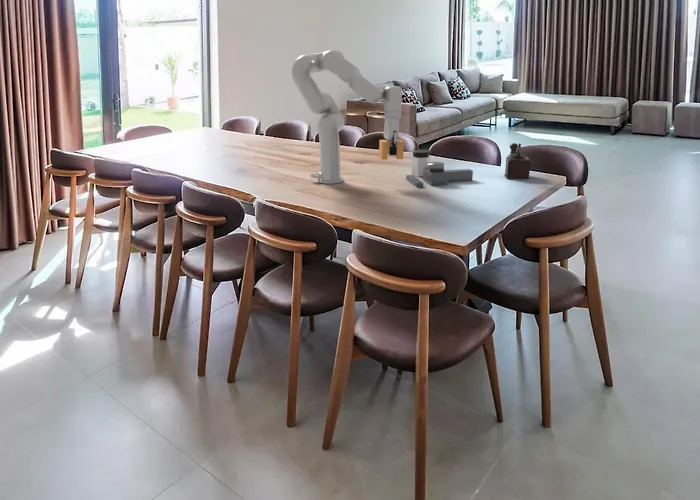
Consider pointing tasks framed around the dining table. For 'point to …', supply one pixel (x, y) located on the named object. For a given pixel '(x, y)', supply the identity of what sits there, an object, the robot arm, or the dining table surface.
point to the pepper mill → (517, 164)
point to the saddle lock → (385, 149)
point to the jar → (419, 162)
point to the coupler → (440, 175)
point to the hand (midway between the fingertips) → (391, 153)
